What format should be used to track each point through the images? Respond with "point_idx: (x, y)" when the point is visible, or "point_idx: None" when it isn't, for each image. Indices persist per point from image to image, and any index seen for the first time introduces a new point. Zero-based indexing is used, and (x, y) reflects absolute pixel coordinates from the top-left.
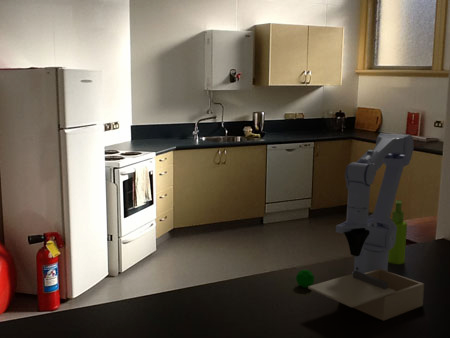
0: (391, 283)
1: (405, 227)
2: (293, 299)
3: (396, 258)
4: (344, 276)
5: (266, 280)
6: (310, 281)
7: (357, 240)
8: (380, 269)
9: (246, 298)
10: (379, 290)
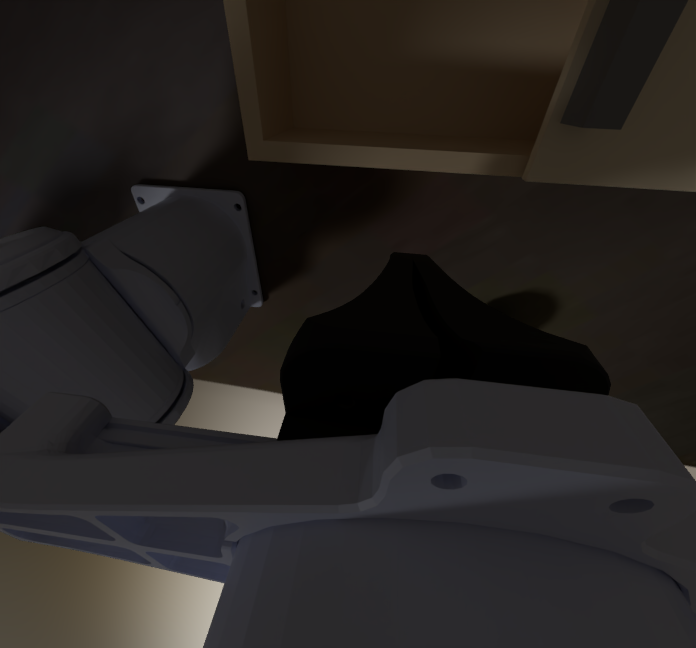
0: (270, 25)
1: None
2: (627, 287)
3: None
4: (601, 179)
5: None
6: None
7: (514, 319)
8: (257, 145)
9: (691, 369)
10: None
